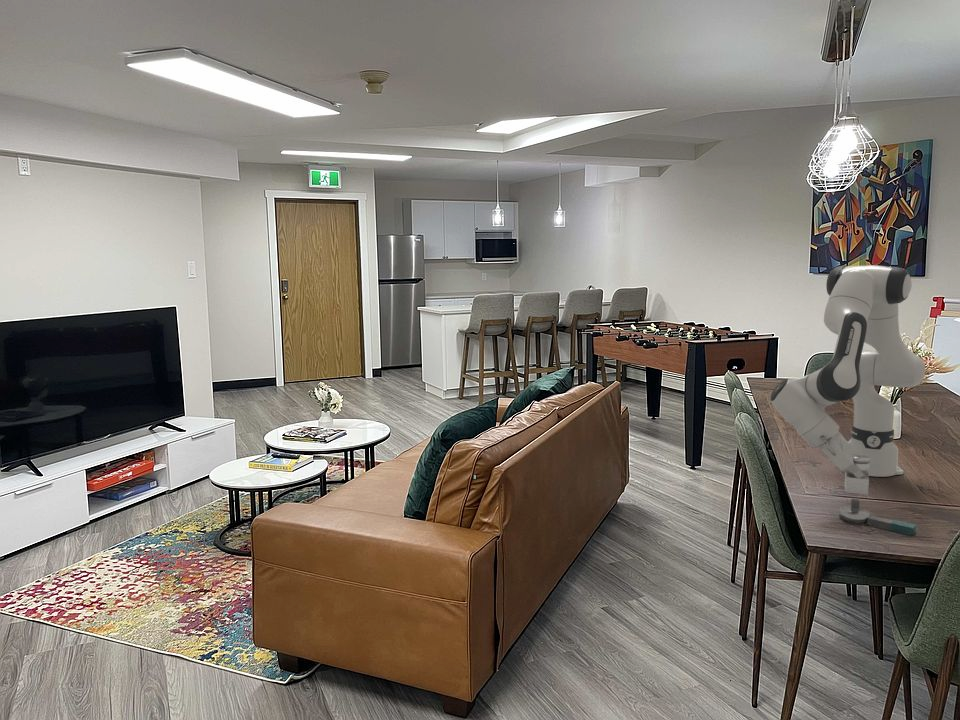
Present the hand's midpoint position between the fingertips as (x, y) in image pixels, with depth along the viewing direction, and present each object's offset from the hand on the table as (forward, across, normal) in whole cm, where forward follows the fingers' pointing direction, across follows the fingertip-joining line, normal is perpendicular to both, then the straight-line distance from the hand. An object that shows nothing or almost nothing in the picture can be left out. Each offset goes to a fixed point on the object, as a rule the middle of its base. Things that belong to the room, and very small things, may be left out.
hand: (860, 472), depth 186 cm
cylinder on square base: (+3, 0, +4) cm, 5 cm away
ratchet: (+12, -2, +6) cm, 14 cm away
